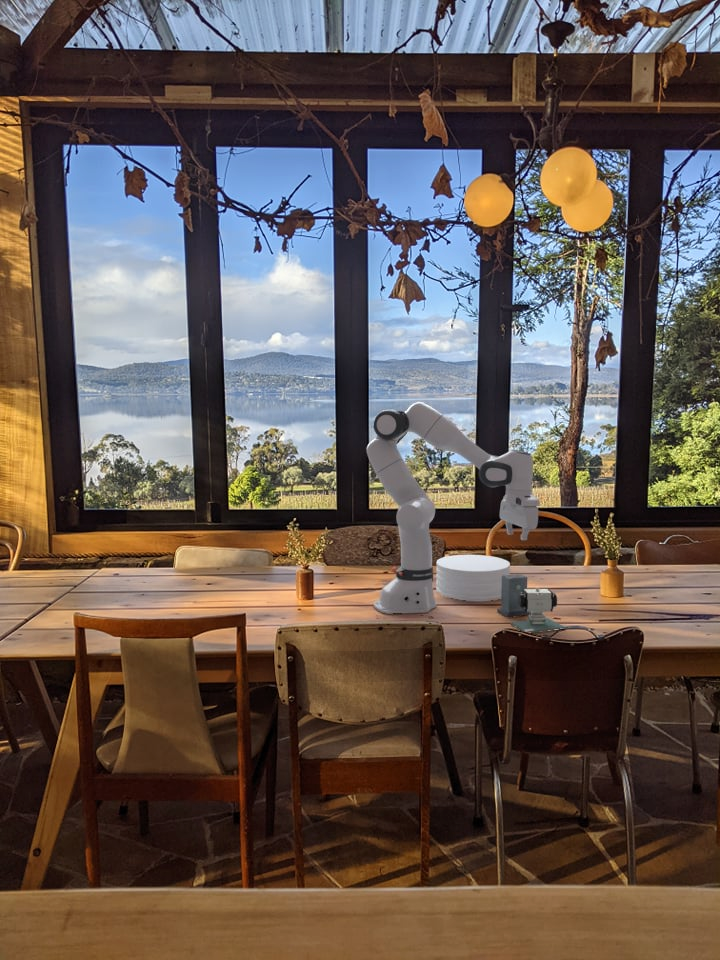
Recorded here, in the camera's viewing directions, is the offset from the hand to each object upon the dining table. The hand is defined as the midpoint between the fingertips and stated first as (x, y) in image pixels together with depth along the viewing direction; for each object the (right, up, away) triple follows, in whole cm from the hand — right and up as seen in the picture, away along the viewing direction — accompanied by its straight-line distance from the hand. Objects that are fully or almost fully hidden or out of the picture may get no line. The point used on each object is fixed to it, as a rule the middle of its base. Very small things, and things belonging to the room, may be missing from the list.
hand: (516, 537), depth 234 cm
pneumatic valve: (+3, -27, -14) cm, 31 cm away
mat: (+4, -28, -14) cm, 31 cm away
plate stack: (-10, -24, +29) cm, 39 cm away
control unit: (-1, -26, 0) cm, 26 cm away
